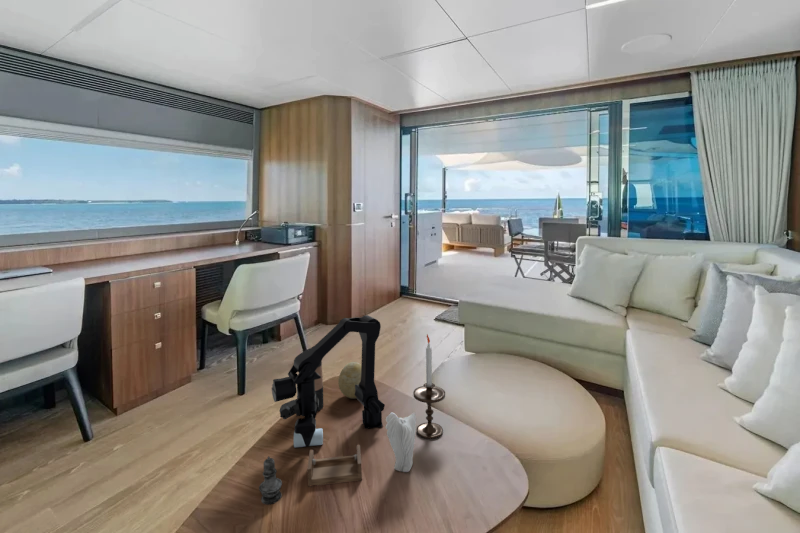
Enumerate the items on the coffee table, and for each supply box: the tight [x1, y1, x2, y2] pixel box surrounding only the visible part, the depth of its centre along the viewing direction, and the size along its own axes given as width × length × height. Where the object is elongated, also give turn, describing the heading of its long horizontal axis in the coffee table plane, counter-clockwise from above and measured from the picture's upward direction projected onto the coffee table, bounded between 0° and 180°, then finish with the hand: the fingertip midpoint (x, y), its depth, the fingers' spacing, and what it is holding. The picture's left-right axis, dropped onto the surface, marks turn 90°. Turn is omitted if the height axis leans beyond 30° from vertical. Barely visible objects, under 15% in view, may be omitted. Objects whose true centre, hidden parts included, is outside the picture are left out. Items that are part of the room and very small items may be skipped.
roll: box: [293, 427, 324, 448], centre depth 127 cm, size 9×5×5 cm, turn 98°
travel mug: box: [315, 360, 324, 412], centre depth 151 cm, size 8×8×20 cm
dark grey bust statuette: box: [258, 455, 283, 506], centre depth 103 cm, size 6×6×12 cm
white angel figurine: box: [385, 411, 417, 473], centre depth 114 cm, size 8×8×18 cm
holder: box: [306, 444, 363, 487], centre depth 113 cm, size 15×9×5 cm, turn 98°
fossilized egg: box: [337, 361, 361, 400], centre depth 159 cm, size 13×13×15 cm
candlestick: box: [412, 333, 446, 440], centre depth 131 cm, size 11×11×35 cm
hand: (308, 437), depth 127 cm, fingers open, 9 cm apart
